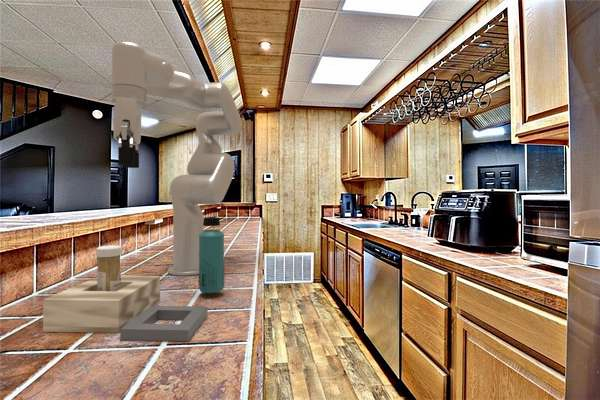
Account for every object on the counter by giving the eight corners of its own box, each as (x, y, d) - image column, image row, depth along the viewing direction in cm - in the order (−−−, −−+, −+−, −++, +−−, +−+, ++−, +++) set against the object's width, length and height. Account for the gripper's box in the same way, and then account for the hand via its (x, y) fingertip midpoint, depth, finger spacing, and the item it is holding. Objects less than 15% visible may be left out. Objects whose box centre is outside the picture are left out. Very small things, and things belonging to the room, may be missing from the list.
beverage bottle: (229, 292, 86) (230, 216, 86) (214, 300, 80) (215, 218, 79) (208, 290, 88) (208, 215, 88) (192, 297, 82) (192, 217, 82)
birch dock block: (101, 299, 79) (101, 274, 79) (159, 300, 79) (159, 275, 79) (43, 331, 61) (43, 299, 61) (118, 332, 61) (118, 300, 61)
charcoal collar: (151, 314, 70) (151, 305, 70) (207, 315, 70) (207, 306, 70) (120, 340, 58) (120, 329, 58) (188, 341, 58) (188, 330, 58)
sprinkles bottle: (122, 310, 70) (122, 247, 69) (97, 314, 67) (96, 249, 67) (120, 304, 74) (119, 244, 73) (96, 308, 71) (95, 245, 71)
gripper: (118, 103, 88) (118, 168, 88) (104, 84, 72) (104, 163, 72) (149, 106, 90) (149, 169, 91) (142, 88, 74) (142, 164, 75)
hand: (129, 166), depth 81 cm, fingers open, 9 cm apart
